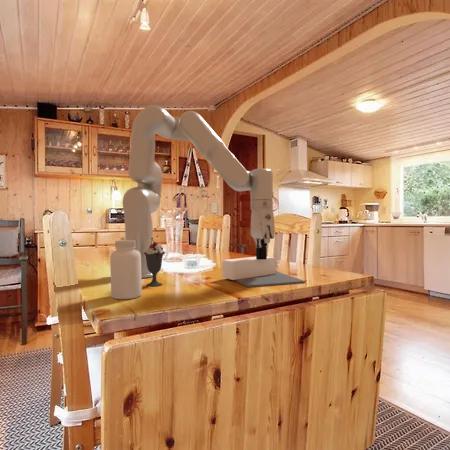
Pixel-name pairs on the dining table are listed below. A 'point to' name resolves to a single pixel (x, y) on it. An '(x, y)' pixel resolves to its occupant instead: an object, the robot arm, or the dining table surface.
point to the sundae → (154, 261)
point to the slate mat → (269, 280)
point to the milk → (248, 267)
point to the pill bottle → (125, 270)
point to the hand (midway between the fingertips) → (261, 259)
